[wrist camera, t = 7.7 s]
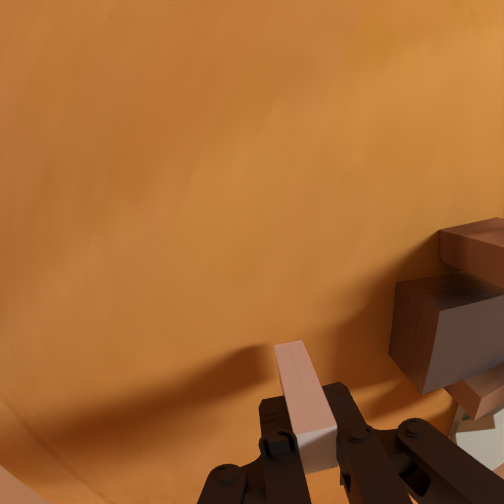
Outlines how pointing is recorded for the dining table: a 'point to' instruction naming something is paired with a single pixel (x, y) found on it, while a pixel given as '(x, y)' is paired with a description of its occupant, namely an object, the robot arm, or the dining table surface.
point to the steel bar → (447, 329)
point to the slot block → (494, 271)
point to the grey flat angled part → (481, 435)
